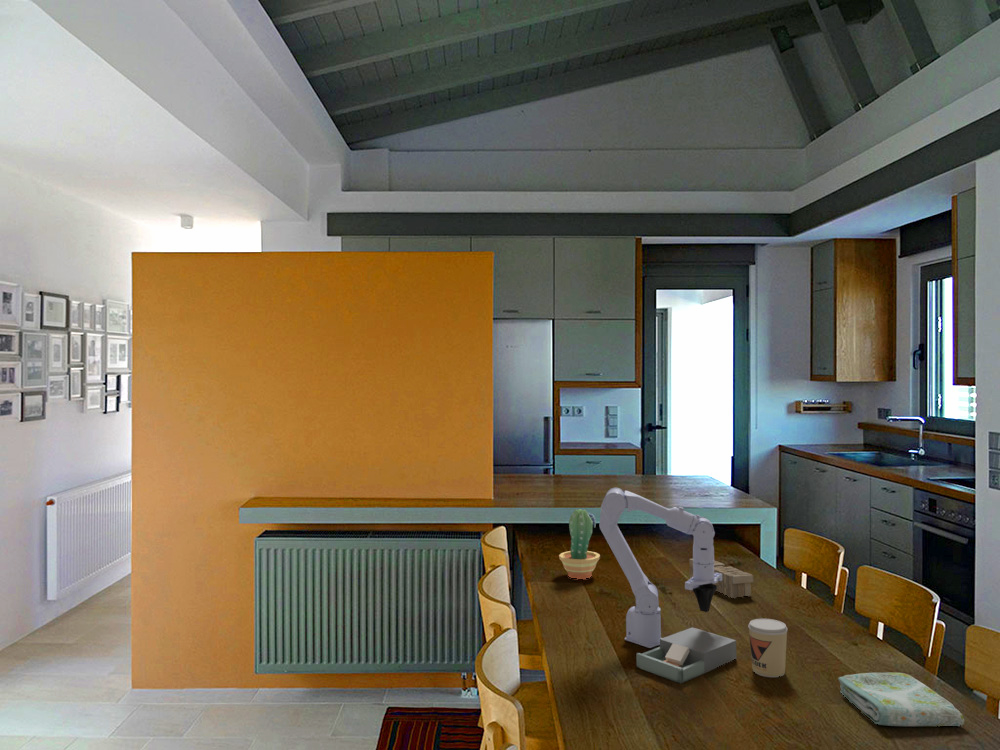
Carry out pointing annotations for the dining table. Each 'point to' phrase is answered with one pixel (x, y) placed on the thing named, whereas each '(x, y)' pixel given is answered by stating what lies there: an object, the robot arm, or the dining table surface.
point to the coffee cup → (768, 647)
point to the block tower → (730, 580)
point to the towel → (898, 700)
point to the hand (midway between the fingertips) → (704, 610)
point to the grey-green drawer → (668, 666)
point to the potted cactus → (580, 546)
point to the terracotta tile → (673, 663)
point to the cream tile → (677, 654)
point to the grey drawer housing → (702, 647)
